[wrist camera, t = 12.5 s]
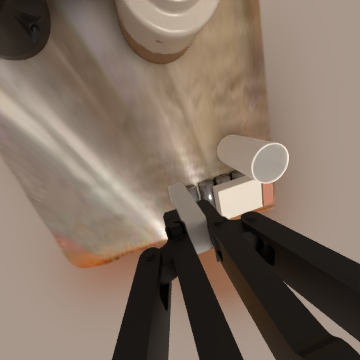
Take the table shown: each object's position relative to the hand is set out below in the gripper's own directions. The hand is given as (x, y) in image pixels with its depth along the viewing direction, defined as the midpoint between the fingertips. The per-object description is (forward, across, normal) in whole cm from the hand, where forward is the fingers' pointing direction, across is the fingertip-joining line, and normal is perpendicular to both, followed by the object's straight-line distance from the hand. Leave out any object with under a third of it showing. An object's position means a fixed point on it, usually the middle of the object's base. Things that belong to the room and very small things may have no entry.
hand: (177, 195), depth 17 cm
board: (+24, +18, -18) cm, 35 cm away
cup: (+29, +20, -6) cm, 36 cm away
